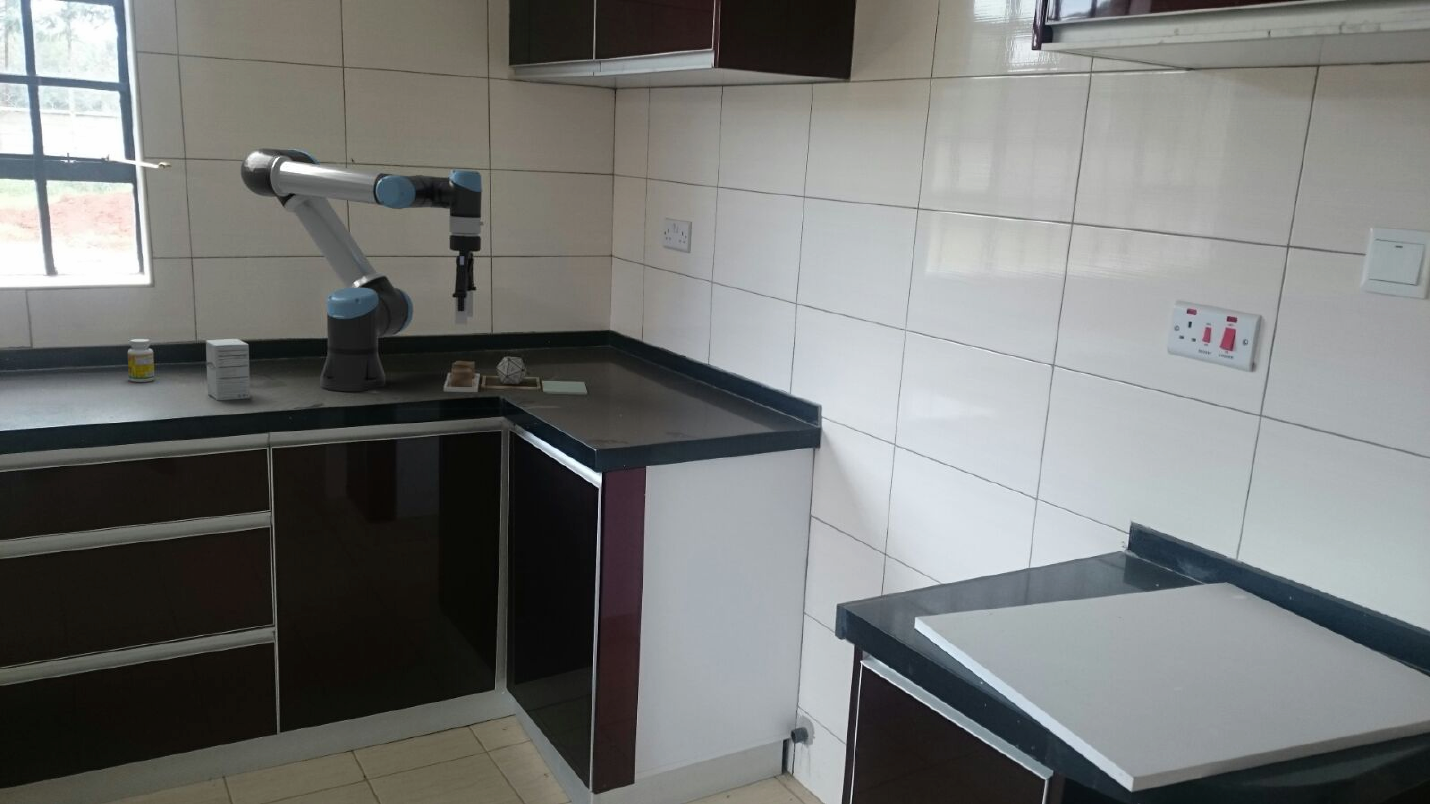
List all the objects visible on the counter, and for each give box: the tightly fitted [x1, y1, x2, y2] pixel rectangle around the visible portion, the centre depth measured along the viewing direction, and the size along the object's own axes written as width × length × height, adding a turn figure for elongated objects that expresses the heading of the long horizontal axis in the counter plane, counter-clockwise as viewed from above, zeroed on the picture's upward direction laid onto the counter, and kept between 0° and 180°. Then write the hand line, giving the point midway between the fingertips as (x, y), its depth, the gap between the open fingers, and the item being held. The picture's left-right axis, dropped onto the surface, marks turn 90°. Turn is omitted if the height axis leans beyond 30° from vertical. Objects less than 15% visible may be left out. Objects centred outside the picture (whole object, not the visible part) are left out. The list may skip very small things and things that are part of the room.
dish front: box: [443, 380, 480, 393], centre depth 264 cm, size 8×8×2 cm
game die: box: [492, 353, 531, 386], centre depth 273 cm, size 9×8×10 cm
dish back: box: [445, 372, 481, 383], centre depth 273 cm, size 8×8×2 cm
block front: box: [450, 368, 472, 387], centre depth 263 cm, size 4×4×4 cm
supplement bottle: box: [127, 338, 155, 383], centre depth 251 cm, size 5×5×10 cm
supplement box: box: [205, 338, 251, 401], centre depth 241 cm, size 7×7×13 cm
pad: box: [541, 380, 588, 396], centre depth 274 cm, size 11×13×1 cm
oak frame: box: [480, 375, 542, 391], centre depth 273 cm, size 15×14×1 cm
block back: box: [451, 360, 476, 379], centre depth 273 cm, size 4×4×4 cm
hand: (464, 320), depth 266 cm, fingers open, 13 cm apart
